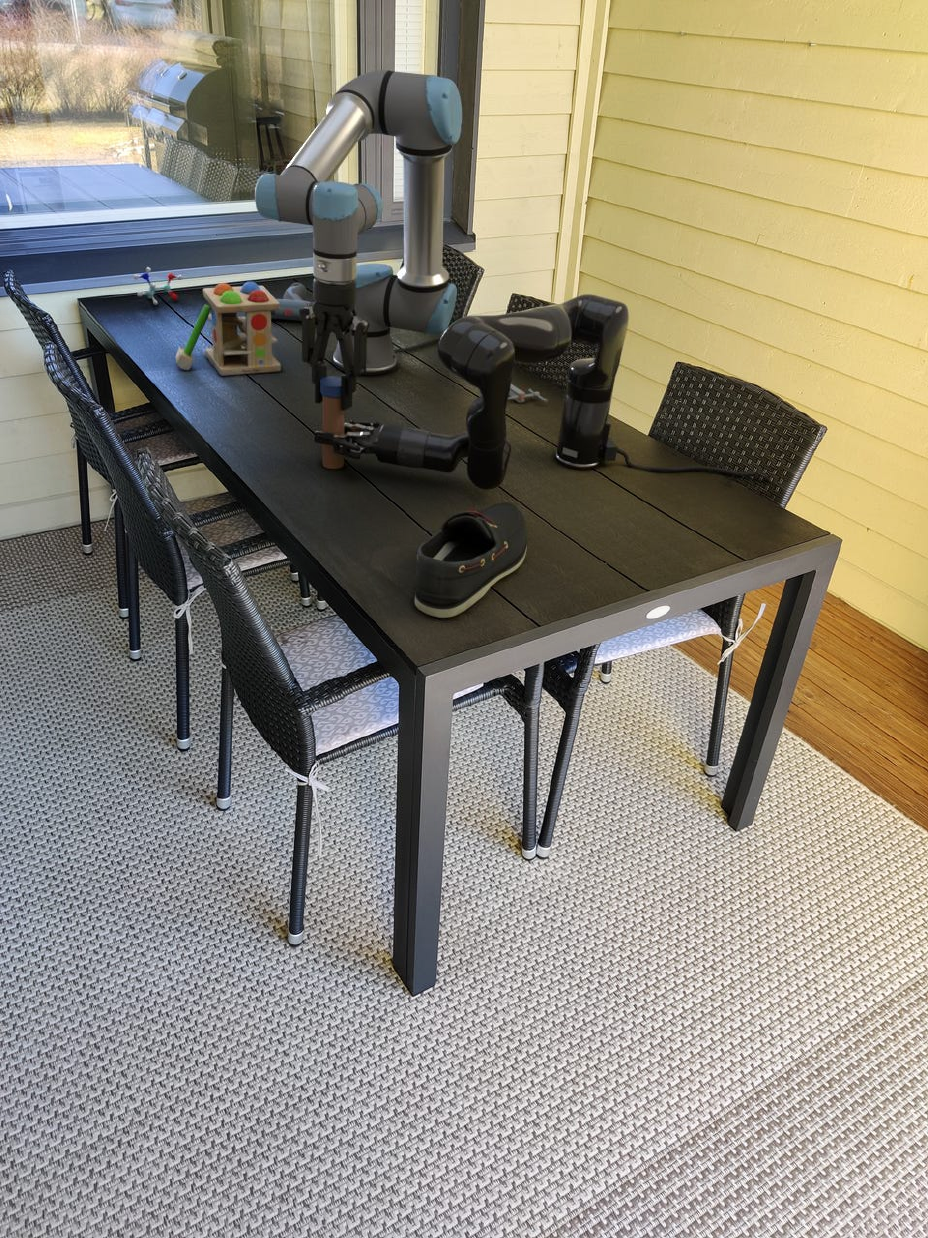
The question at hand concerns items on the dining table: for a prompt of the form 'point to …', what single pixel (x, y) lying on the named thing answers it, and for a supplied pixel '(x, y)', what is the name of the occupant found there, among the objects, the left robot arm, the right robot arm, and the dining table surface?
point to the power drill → (292, 303)
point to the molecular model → (154, 288)
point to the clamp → (523, 394)
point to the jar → (332, 430)
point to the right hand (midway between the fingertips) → (319, 431)
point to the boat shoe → (468, 558)
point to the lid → (330, 386)
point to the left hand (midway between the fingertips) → (333, 404)
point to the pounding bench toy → (229, 347)
